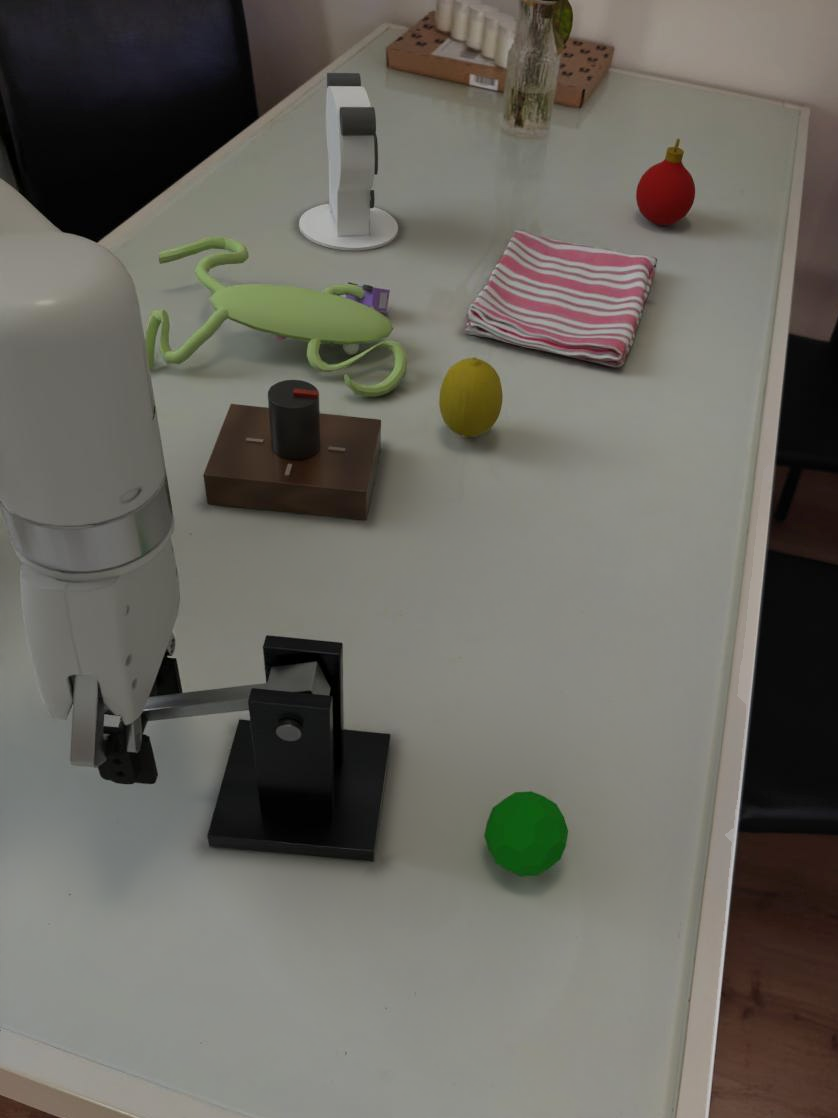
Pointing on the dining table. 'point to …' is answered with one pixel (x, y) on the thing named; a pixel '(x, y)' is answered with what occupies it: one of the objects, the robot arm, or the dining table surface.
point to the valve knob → (294, 419)
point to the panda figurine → (349, 173)
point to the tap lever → (232, 694)
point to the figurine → (285, 315)
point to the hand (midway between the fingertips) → (143, 736)
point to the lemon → (470, 397)
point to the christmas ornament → (666, 189)
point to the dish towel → (564, 299)
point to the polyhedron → (526, 833)
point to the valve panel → (294, 466)
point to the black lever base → (301, 768)
